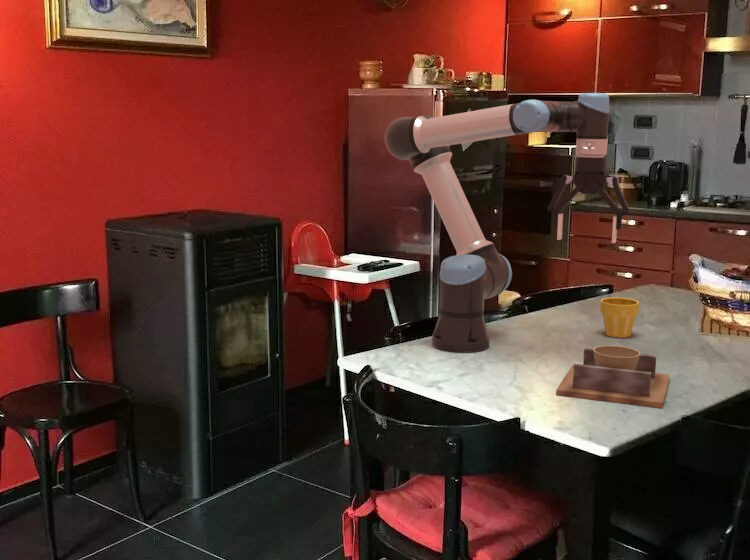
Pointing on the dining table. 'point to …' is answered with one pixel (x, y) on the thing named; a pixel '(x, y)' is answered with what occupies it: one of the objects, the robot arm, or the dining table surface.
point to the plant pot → (619, 316)
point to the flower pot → (616, 357)
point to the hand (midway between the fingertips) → (586, 240)
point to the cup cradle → (616, 382)
